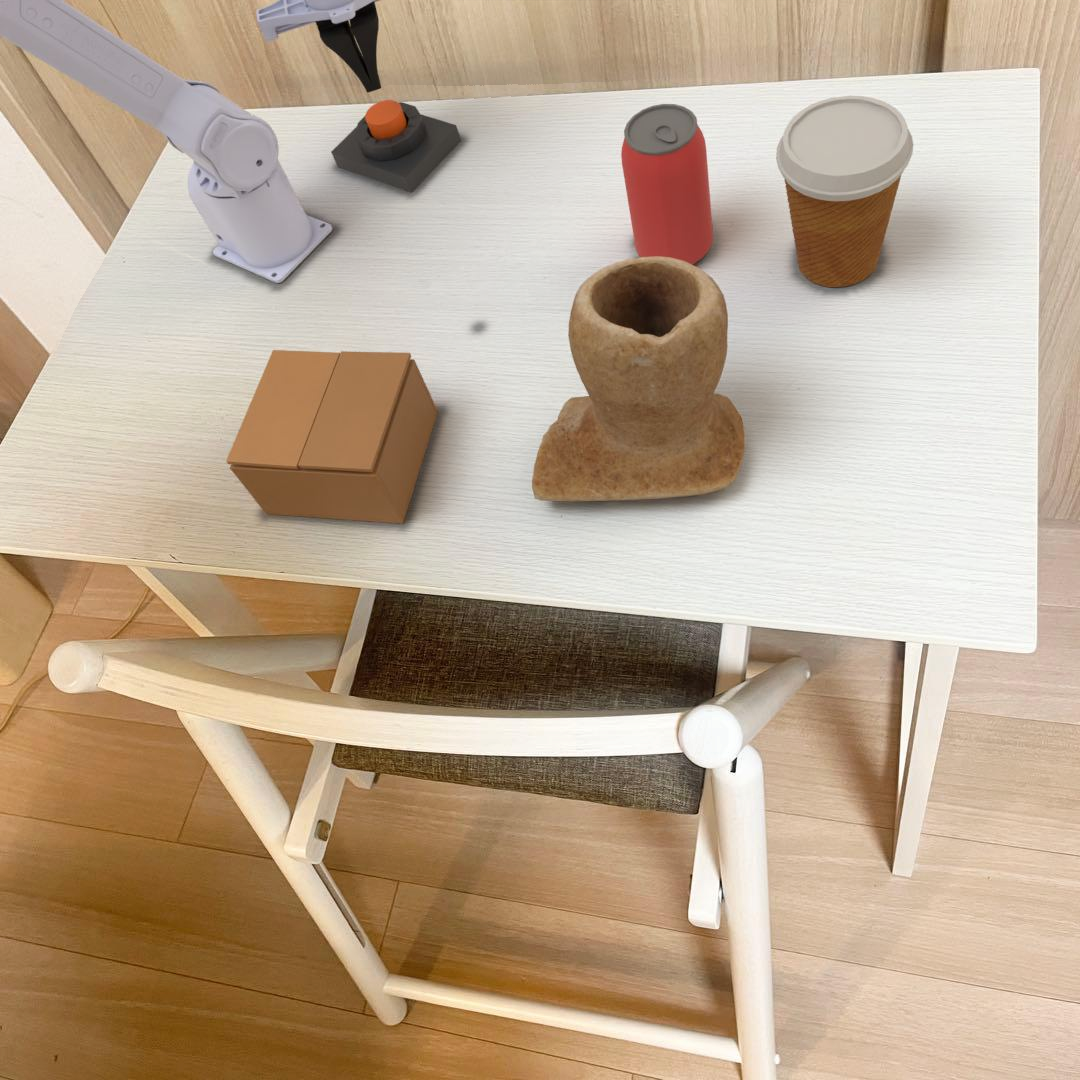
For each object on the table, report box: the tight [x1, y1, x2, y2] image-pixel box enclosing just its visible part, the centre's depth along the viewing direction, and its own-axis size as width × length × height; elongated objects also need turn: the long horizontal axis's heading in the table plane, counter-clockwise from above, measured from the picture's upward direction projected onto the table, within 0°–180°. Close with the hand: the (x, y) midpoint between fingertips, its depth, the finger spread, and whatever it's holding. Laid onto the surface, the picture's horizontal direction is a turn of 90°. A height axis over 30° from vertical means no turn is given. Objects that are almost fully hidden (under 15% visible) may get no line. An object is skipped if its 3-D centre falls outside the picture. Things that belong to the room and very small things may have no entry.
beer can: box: [620, 103, 714, 265], centre depth 83 cm, size 7×7×12 cm
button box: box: [330, 101, 462, 194], centre depth 101 cm, size 10×8×4 cm
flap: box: [225, 349, 341, 469], centre depth 78 cm, size 6×11×1 cm, turn 168°
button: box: [364, 99, 407, 139], centre depth 99 cm, size 4×4×2 cm
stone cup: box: [531, 256, 746, 502], centre depth 71 cm, size 15×12×15 cm
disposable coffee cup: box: [775, 95, 914, 288], centre depth 78 cm, size 10×10×12 cm
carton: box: [229, 350, 439, 525], centre depth 80 cm, size 12×11×7 cm
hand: (373, 84), depth 95 cm, fingers closed
